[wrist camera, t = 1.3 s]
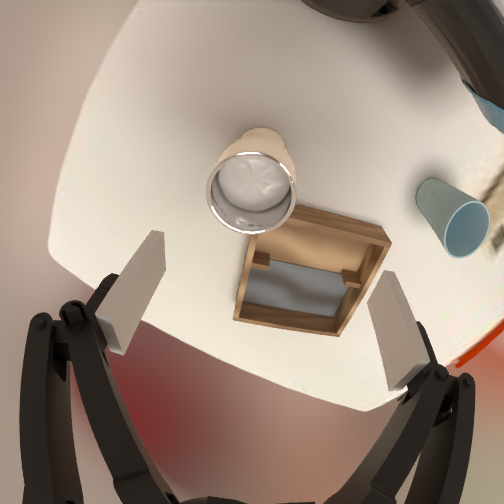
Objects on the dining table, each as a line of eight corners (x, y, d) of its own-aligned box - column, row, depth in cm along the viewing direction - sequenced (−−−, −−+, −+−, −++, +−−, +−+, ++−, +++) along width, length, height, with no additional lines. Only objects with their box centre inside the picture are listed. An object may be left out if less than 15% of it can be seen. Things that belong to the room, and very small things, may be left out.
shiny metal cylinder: (222, 160, 33) (188, 210, 20) (249, 113, 29) (230, 130, 17) (270, 187, 34) (267, 251, 22) (300, 142, 31) (318, 181, 18)
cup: (399, 202, 33) (433, 240, 25) (428, 160, 29) (472, 188, 21) (429, 227, 35) (462, 267, 26) (457, 189, 31) (497, 222, 22)
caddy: (259, 196, 35) (256, 210, 31) (381, 226, 36) (391, 243, 32) (236, 300, 46) (232, 320, 42) (335, 317, 46) (338, 336, 43)
